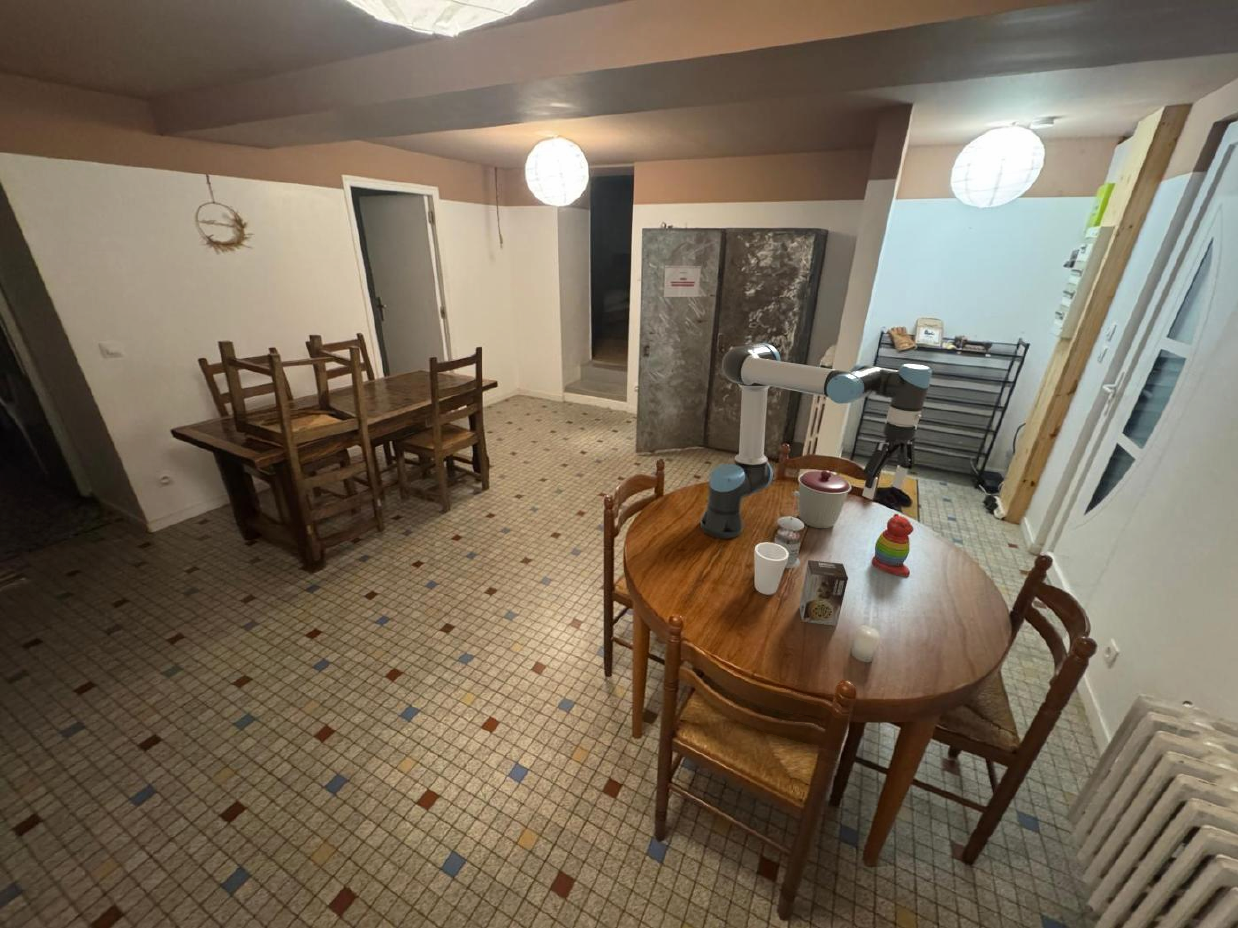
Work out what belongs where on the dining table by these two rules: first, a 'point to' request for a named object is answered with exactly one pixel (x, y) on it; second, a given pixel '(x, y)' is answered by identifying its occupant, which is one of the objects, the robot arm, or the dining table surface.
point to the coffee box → (823, 592)
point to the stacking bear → (893, 546)
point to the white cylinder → (865, 643)
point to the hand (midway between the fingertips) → (882, 492)
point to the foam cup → (769, 566)
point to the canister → (821, 498)
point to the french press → (790, 536)
